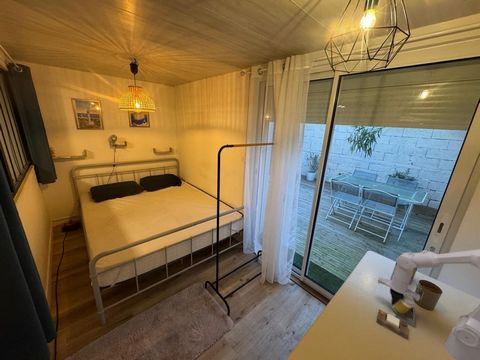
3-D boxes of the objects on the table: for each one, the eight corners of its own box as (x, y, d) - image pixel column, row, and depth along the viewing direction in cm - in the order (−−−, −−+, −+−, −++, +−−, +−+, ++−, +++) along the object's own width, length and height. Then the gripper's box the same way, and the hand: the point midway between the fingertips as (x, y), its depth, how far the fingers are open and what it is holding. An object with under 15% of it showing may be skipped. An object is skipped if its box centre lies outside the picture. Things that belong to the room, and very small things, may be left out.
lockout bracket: (413, 312, 89) (414, 307, 88) (413, 327, 82) (415, 322, 81) (396, 304, 92) (397, 299, 92) (395, 317, 86) (396, 313, 85)
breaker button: (397, 323, 82) (399, 319, 82) (397, 331, 79) (399, 326, 79) (386, 317, 85) (387, 313, 84) (385, 324, 82) (386, 319, 81)
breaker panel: (406, 327, 81) (408, 323, 81) (406, 339, 77) (408, 334, 76) (378, 312, 87) (379, 308, 87) (376, 322, 83) (377, 317, 82)
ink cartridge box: (400, 288, 102) (407, 264, 98) (389, 280, 107) (396, 257, 103) (412, 284, 105) (420, 261, 101) (401, 276, 110) (408, 254, 106)
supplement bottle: (404, 317, 86) (417, 306, 83) (394, 312, 87) (406, 302, 83) (399, 306, 91) (411, 296, 87) (389, 302, 91) (401, 291, 87)
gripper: (422, 282, 84) (413, 306, 88) (382, 265, 93) (375, 288, 97) (423, 292, 79) (413, 317, 82) (380, 273, 88) (373, 297, 91)
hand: (392, 302), depth 89 cm, fingers closed
